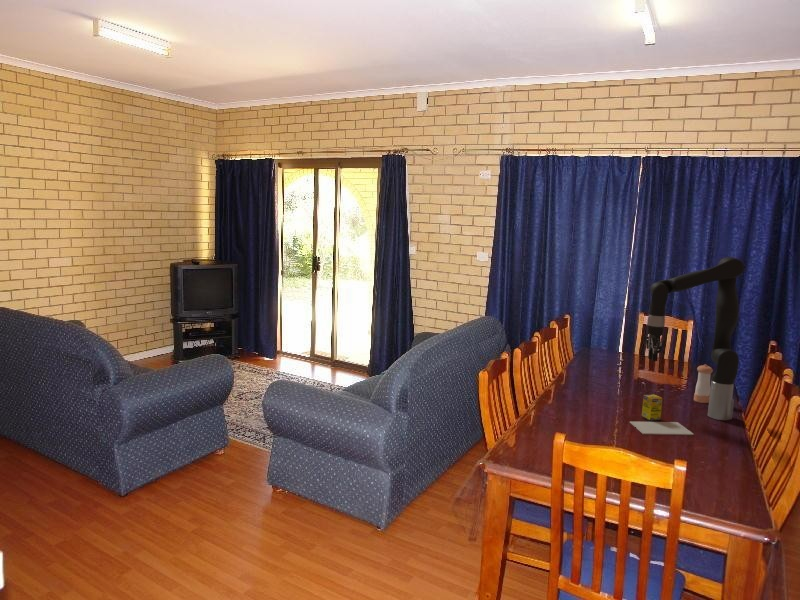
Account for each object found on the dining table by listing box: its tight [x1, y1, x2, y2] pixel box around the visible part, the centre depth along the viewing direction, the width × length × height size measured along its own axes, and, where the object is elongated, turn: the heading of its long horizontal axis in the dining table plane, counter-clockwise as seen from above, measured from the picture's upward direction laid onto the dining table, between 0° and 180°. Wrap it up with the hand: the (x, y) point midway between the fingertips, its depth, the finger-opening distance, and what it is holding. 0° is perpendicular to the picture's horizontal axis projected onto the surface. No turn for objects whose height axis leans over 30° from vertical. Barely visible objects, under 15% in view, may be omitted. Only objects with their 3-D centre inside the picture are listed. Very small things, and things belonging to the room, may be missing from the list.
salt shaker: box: [693, 363, 714, 404], centre depth 292 cm, size 7×7×19 cm
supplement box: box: [641, 393, 663, 422], centre depth 264 cm, size 6×6×11 cm
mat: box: [629, 421, 695, 436], centre depth 253 cm, size 22×14×1 cm, turn 91°
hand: (652, 359), depth 273 cm, fingers open, 3 cm apart
